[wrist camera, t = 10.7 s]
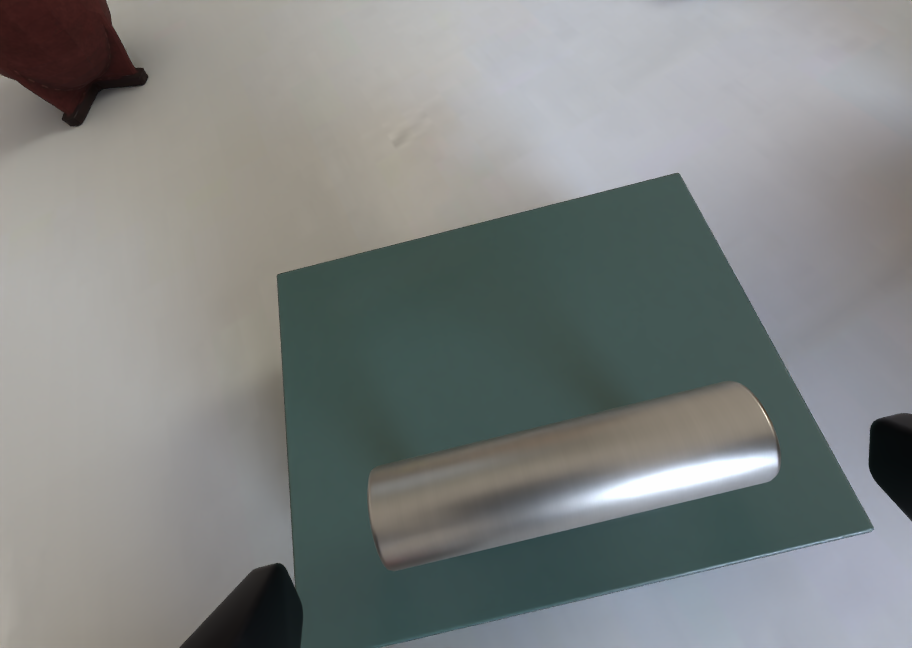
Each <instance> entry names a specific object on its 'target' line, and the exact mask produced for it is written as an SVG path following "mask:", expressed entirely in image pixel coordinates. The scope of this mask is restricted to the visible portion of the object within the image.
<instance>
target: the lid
mask: <svg viewBox="0 0 912 648" xmlns="http://www.w3.org/2000/svg"><path fill="white" fill-rule="evenodd" d="M277 287H278V303H279V320H280V337H281V354H282V371H283V388H284V405H285V422H286V439H287V456H288V472H289V489H290V506H291V523H292V540H293V557H294V574H295V589H296V591H297V593H298V596H299V598H300V600H301V603H302V607H303V627H302V637H301V648H380V647H385V646H389V645H393V644H397V643H402V642H406V641H410V640H414V639H419V638H423V637H427V636H431V635H436V634H440V633H444V632H448V631H453V630H457V629H461V628H465V627H470V626H474V625H478V624H482V623H486V622H491V621H495V620H499V619H503V618H508V617H512V616H516V615H520V614H525V613H529V612H533V611H537V610H542V609H546V608H550V607H554V606H559V605H563V604H567V603H571V602H576V601H580V600H584V599H588V598H593V597H597V596H601V595H605V594H610V593H614V592H618V591H622V590H627V589H631V588H635V587H639V586H644V585H648V584H652V583H656V582H661V581H665V580H669V579H673V578H678V577H682V576H686V575H690V574H695V573H699V572H703V571H707V570H712V569H716V568H720V567H724V566H729V565H733V564H737V563H741V562H746V561H750V560H754V559H758V558H763V557H767V556H771V555H775V554H780V553H784V552H788V551H792V550H797V549H801V548H805V547H809V546H814V545H818V544H822V543H826V542H831V541H835V540H839V539H843V538H848V537H852V536H856V535H860V534H865V533H869V532H872V531H873V530H874V528H873V525H872V524H871V522H870V520H869V518H868V516H867V514H866V513H865V511H864V509H863V507H862V505H861V503H860V502H859V500H858V498H857V496H856V494H855V493H854V491H853V489H852V487H851V485H850V483H849V482H848V480H847V478H846V476H845V474H844V472H843V471H842V469H841V467H840V465H839V463H838V462H837V460H836V458H835V456H834V454H833V452H832V451H831V449H830V447H829V445H828V443H827V441H826V440H825V438H824V436H823V434H822V432H821V431H820V429H819V427H818V425H817V423H816V421H815V420H814V418H813V416H812V414H811V412H810V410H809V409H808V407H807V405H806V403H805V401H804V400H803V398H802V396H801V394H800V392H799V390H798V389H797V387H796V385H795V383H794V381H793V380H792V378H791V376H790V374H789V372H788V370H787V369H786V367H785V365H784V363H783V361H782V359H781V358H780V356H779V354H778V352H777V350H776V349H775V347H774V345H773V343H772V341H771V339H770V338H769V336H768V334H767V332H766V330H765V328H764V327H763V325H762V323H761V321H760V319H759V318H758V316H757V314H756V312H755V310H754V308H753V307H752V305H751V303H750V301H749V299H748V297H747V296H746V294H745V292H744V290H743V288H742V287H741V285H740V283H739V281H738V279H737V277H736V276H735V274H734V272H733V270H732V268H731V266H730V265H729V263H728V261H727V259H726V257H725V256H724V254H723V252H722V250H721V248H720V246H719V245H718V243H717V241H716V239H715V237H714V235H713V234H712V232H711V230H710V228H709V226H708V225H707V223H706V221H705V219H704V217H703V215H702V214H701V212H700V210H699V208H698V206H697V204H696V203H695V201H694V199H693V197H692V195H691V194H690V192H689V190H688V188H687V186H686V184H685V183H684V181H683V179H682V177H681V175H680V174H679V173H674V174H671V175H667V176H663V177H659V178H655V179H651V180H647V181H643V182H639V183H635V184H631V185H627V186H623V187H619V188H615V189H611V190H608V191H604V192H600V193H596V194H592V195H588V196H584V197H580V198H576V199H572V200H568V201H564V202H560V203H556V204H552V205H548V206H545V207H541V208H537V209H533V210H529V211H525V212H521V213H517V214H513V215H509V216H505V217H501V218H497V219H493V220H489V221H485V222H482V223H478V224H474V225H470V226H466V227H462V228H458V229H454V230H450V231H446V232H442V233H438V234H434V235H430V236H426V237H423V238H419V239H415V240H411V241H407V242H403V243H399V244H395V245H391V246H387V247H383V248H379V249H375V250H371V251H367V252H363V253H360V254H356V255H352V256H348V257H344V258H340V259H336V260H332V261H328V262H324V263H320V264H316V265H312V266H308V267H304V268H300V269H297V270H293V271H289V272H285V273H281V274H278V275H277Z"/></svg>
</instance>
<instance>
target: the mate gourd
mask: <svg viewBox="0 0 912 648" xmlns="http://www.w3.org/2000/svg"><path fill="white" fill-rule="evenodd" d="M0 74H1V75H3V76H5V77H8V78H11V79H13V80H16V81H18V82H19V83H20V84H22V85H23V86H24V87H26V88H27V89H29V90H30V91H32V92H33V93H35V94H36V95H38V96H39V97H41V98H42V99H44V100H45V101H47V102H49V103H50V104H52V105H54V106H55V107H57V108H58V109H59V110H61V111H62V112H64V114H63V117H62V120H63V121H65V122H66V123H68V124H69V125H70V126H79V125H81V124H82V123H83V121H84V119H85V118H86V115H87V113H88V111H89V109H90V107H91V105H92V103H93V101H94V99H95V97H96V96H97V94H98V92H99V91H100V90H101V89H106V88H115V87H127V86H137V85H143V84H144V83H146V80H147V78H148V75H147V74H146V72H145V71H144V69H143V68H135V67H134V66H133V64H132V62H131V60H130V59H129V57H128V55H127V53H126V50H125V48H124V46H123V44H122V42H121V40H120V39H119V37H118V35H117V33H116V31H115V29H114V28H113V26H112V22H111V14H110V11H109V8H108V5H107V2H106V0H0Z"/></svg>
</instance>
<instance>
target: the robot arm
mask: <svg viewBox="0 0 912 648" xmlns="http://www.w3.org/2000/svg"><path fill="white" fill-rule="evenodd" d="M869 469H870V472H871V474H872V477H873V478H874V480H875V481H876V483H877V484H878V485H879V486H880V487H881V488H882V489H883V490H884V492H885V493H886V494H887V495H888V496H889V497H890V498H891V499H892V500H893V501H894V502H895V503H896V505H897V506H898V507H899V508H900V509H901V510H902V511H903V512H904V513H905V514H906V515H907V517H908V518H909V519H910V520H911V521H912V414H908V413H901V414H896V415H891V416H887V417H883V418H879V419H877V420H875V421H874V422H873V423H872V425H871V428H870V444H869ZM302 627H303V607H302V603H301V600H300V598H299V596H298V593H297V591H296V589H295V587H294V585H293V583H292V580H291V578H290V576H289V574H288V572H287V570H286V568H285V567H284V566H283V565H282V564H279V563H276V564H271V565H267V566H263V567H259V568H256V569H254V570H253V571H251V572H250V573H249V574H248V575H247V576H246V578H245V579H244V580H243V581H242V582H241V583H240V584H239V585H238V586H237V587H236V588H235V589H234V590H233V591H232V592H231V593H230V594H229V596H228V597H227V598H226V599H225V600H224V601H223V602H222V603H221V604H220V605H219V606H218V607H217V608H216V609H215V610H214V611H213V613H212V614H211V615H210V616H209V617H208V618H207V619H206V620H205V621H204V622H203V623H202V624H201V625H200V626H199V627H198V628H197V629H196V631H195V632H194V633H193V634H192V635H191V636H190V637H189V638H188V639H187V640H186V641H185V642H184V643H183V644H182V645H181V646H180V648H301V637H302Z"/></svg>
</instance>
